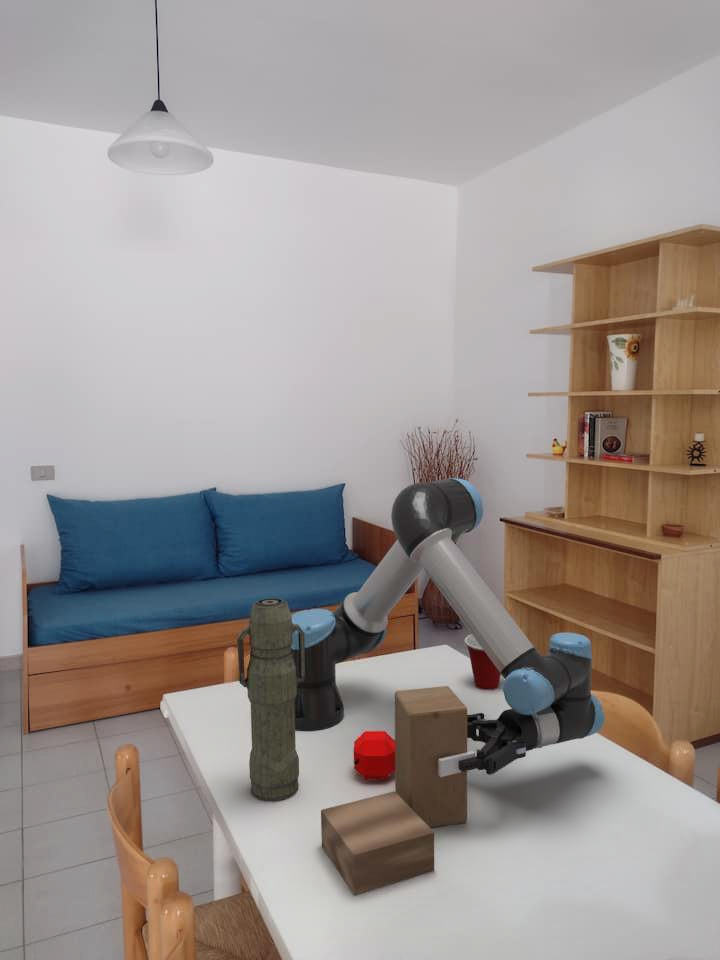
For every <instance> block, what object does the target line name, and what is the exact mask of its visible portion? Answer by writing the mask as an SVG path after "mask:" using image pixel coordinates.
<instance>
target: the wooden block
mask: <svg viewBox="0 0 720 960" xmlns="http://www.w3.org/2000/svg"><path fill="white" fill-rule="evenodd" d="M467 715H468V708H467V706H466V705H465V704H464V703H463V701H462V700H461V699H460V698H459V696H457V695H456V693H454V691H453V689H451V688H450V686H448V685H446V686H443V685H442V686H435V687H424V688H415V689H414V688H413V689H405V690H404V689H403V690H395V692H394V740H395V771H394V772H395V773H394V774H395V775H394V779H395V780H394V781H395V783H394V784H395V790H394V791H395V792H396V793H397V794H398V795H399V796H400V797H401V798H402V799H403V801H404V802H405V803H406V804H407V805H408V806H409V807H410V808H411V809H412V810H413V811H414V812H415V813H416V814H417V815H418V816H419V817H420V818H421V819H422V820H423V821H424V822H425V823H426V824H427V825H428V826H429V827H430V828H435V827H443V826H448V825H456V824H457V825H458V824H464V823H466V822H467V821H468V771H465V772H460V773H456V774H452V775H448V776H444V777H440V776H439V775H438V759H441V758H445V757H449V756H454V755H458V754H462V753H466V752H468V738H467Z"/></svg>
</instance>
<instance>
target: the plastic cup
mask: <svg viewBox="0 0 720 960" xmlns="http://www.w3.org/2000/svg"><path fill="white" fill-rule="evenodd" d="M464 643H465V645H466V647H467V650H468V654H469V658H470V659H469V660H470V664H471V670H472V674H473V680H474V684H475V687H476V688H479V689H481V690H488V691H489V690H495V689H498V687H499V685H500V679H501V675H502V674H501V673H500V672H499V670H498V669H497V667H496V666H495V665H494V663H493V662H492V661H491V659H490V658H489V657H488V655H487V654H486V653H485V651H484V650H483V648H482V647H481V646H480V644H479V643H478V642H477V640H476V639H475V638H474V636H473V635H472V634H468V635H467V636H466V637H464Z"/></svg>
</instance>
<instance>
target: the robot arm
mask: <svg viewBox="0 0 720 960" xmlns="http://www.w3.org/2000/svg"><path fill="white" fill-rule="evenodd" d="M483 506H484V505H483V499H482V496H481V494H480V492H479V491H478V489H477V488H476V486H475V485H473V484H472V483H471V482H470V481H469V480H465V479H463V478H454V477H448V478H444V479H439V480H438V479H437V480H432V481H427V482H426V481H425V482H416V483H413V484H410V485H407V486H406V487H405V488H404V489H402V490H401V491H400V492H399V493H398V495H396V497H395V498H394V502H393V504H392V508H391V513H390V515H391V516H390V518H391V525H392V529H393V532H394V535H395V538H396V541H395V542H394V543H393V544H392V546H391V547H390V548H389V550H388V552H386V554H385V555H384V556H383V558H382V560H381V561H380V562H379V563H378V565H377V566H376V568H375V569H374V570H373V571H372V573H371V574H370V576H369V577H368V578H367V579H366V581H365V582H364V584H363V585H362V586H361V588H360V589H359V590H358V591H357V592H355V591H354V592H351V593H348V594H347V596H345V598H344V599H343V601H342V602H341V603H340V605H338V607H337V608H336V609H335V610H332V611H330V610H328V609H326V608H325V609H324V608H310V609H309V610H308V609H304V610H300V611H297V612H295V613H293V614H291V616H292V623H293V624H298V625H299V627H300V628H301V629H302V631H303V632H304V643H305V679H304V681H302V682H298V686H297V695H296V698H295V700H294V702H295V731H297V730H298V731H317V730H323V729H327V728H330V727H334V726H336V725H338V724H339V723H340V722H341V721H342V720H343V719H344V717H345V705H344V701H343V699H342V696H341V693H340V690H339V688H338V686H337V682H336V681H337V680H336V665H337V664H339V663H342V662H345V661H348V660H350V659H354V658H356V657H359V656H361V655H365V654H368V653H370V652H372V651H373V650H375V649H377V648H379V647H380V645H381V644H382V643H384V639H385V638H386V636H387V635H386V634H387V633H388V632H387V631H388V630H387V629H386V628H387V626H388V623H389V619H388V615H389V614H390V612H391V611H392V610H393V609H394V607H395V606H396V605H397V604H398V602H399V601H400V600H401V599H402V597H403V596H404V595H405V594H406V593H407V591H408V590H409V588H411V586H412V585H413V584H414V582H415V581H416V580H417V579H418V578H419V576H421V574H422V572H423V571H424V572H426V574H427V575H428V576H429V578H430V579H431V581H432V582H433V583H434V585H435V586H436V587H437V589H438V590H439V591H440V593H441V594H442V595H443V597H444V598H445V599H446V601H447V603H448V604H449V605H450V607H452V609H453V611H455V613H456V615H457V616H458V617H459V619H460V620H461V622H462V623H463V624H464V625H465V626H466V629H467V630H468V631H469V632H470V634H471V635H473V636H474V638H475V639H476V640H477V642H478V643H479V644H480V646H481V647H482V648H483V650H484V651H485V653H486V654H487V655H488V657H489V658H490V659H491V661H492V662H493V663H494V665H495V666H496V667H497V669H498V670H499V672H500V673H501V674H500V675H501V676H502V677H503V679H504V681H503V682H502V683H503V684H502V692H503V695H504V700H505V702H506V703H507V705H508V706H509V708H508V709H505V710H503V711H502V712H501V714H500V715H499V717H497V719H485V713H484V712H477V713H473V714H467V739H471V740H472V742H479V743H480V742H481V743H484V745H483V746H482V747H481V749H477V748H476V752H475V751H473V750H471V751H467V752H466V753H462V754H458V755H454V756H449V757H445V758H441V759H438V775H439V776H440V777H444V776H448V775H452V774H456V773H460V772H465V771H467V772H469V771H473V770H478V771H483V770H485V773H486V774H487V775H494V774H495V773H496V772H499V771H500V770H502V769H503V768H505V767H506V766H508V765H510V764H512V763H513V762H514V761H516V760H518V759H522V758H525V757H526V756H527V752H529V751H533V749H542V748H543V747H548V746H551V745H556V744H560V743H564V742H569V741H572V740H573V741H574V740H579V739H580V740H581V739H585V738H586V737H590V736H592V735H595V734H597V733H599V732H600V731H601V730H602V729H603V728H604V724H605V712H604V711H603V705H602V703H601V702H600V700H599V699H598V697H597V696H595V695H594V694H592V690H591V689H592V667H593V666H592V664H593V654H592V643H591V640H590V638H588V637H587V636H586V635H582V634H579V633H575V632H558V633H555V634H554V633H553V635H552V636H551V637H550V639H549V645H548V653H547V654H545V655H543V656H542V655H541V653H540V652H539V651H538V650H537V649H536V647H534V645H533V643H532V642H531V641H530V640H529V638H528V637H527V635H526V634H525V633H524V632H523V630H522V629H521V628H520V627H519V625H517V622H516V621H515V620H514V619H513V617H512V616H511V615H510V613H509V612H508V611H507V610H506V609H505V607H504V606H503V605H502V604H501V602H500V601H499V599H498V598H497V597H496V595H495V594H494V593H493V592H492V590H491V589H490V588H489V586H488V585H487V584H486V583H485V581H484V580H483V579H482V578H481V576H480V575H479V574H478V572H477V571H476V570H475V568H474V567H473V565H472V564H471V563H470V562H469V560H468V559H467V558H466V556H465V555H464V553H463V552H462V551H461V550H460V548H459V547H458V546H457V545H456V542H457V541H458V539H459V538H460V537H461V536H462V535H463V534H466V533H470V532H472V531H473V530H475V529H476V528H478V526H479V525H480V524H481V521H482V520H483V515H484V507H483ZM291 649H292V650H293V658H294V661H295V664H296V672H297V674H298V675H300V673H299V637H298V630H297V631H295V633H292V645H291ZM477 730H478V734H477Z"/></svg>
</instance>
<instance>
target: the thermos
mask: <svg viewBox="0 0 720 960" xmlns="http://www.w3.org/2000/svg"><path fill="white" fill-rule="evenodd" d="M249 615H250V616H249V621H248V627H245V628H242V630H241V631H240V632H239V634H238V636H237V637H236V640H237V641H236V643H237V657H238V658H237V659H238V681H239V684H240V685H241V686H243V688H246V689H247V699H248V701H249V703H250V726H251V730H250V732H251V750H250V753H249V763H248V764H249V765H248V766H249V767H248V768H249V779H250V783H251V784H250V785H251V787H250V793H251V795H252V796H253V797H254V799H256V798H257V800H260V801H262V802H267V801H268V802H269V801H270V802H276V801H277V802H281V801H285V800H287V799H290V798H292V797H294V796H295V795H296V794H297V793H298V791H299V786H300V785H299V777H300V758H299V755H298V752H297V749H296V729H295V702H294V700H295V698H296V695H297V686H298V682H302V681H304V679H305V643H304V632H303V631H302V629H301V628H300V627H299V625H298V624H293V623H292V616H291V615H292V613H291V611H290V608H289V604H288V602H287V601H286V600H284V599H281V598H279V597H278V598H277V597H269V598H268V597H267V598H261V599H259V600H257V601H255V602H254V603H253V604H252V607H251V610H250V614H249ZM297 630H298V637H299V673H300V675H298V674H297V672H296V664H295V661H294V658H293V650H292V649H291V645H292V633H295V631H297ZM247 635H248V636H249V647H250V652H249V662H248V665H247V668H246V678H245V650H244V649H245V648H244V639H245V637H246V636H247ZM268 802H267V803H268ZM270 802H269V803H270Z"/></svg>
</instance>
